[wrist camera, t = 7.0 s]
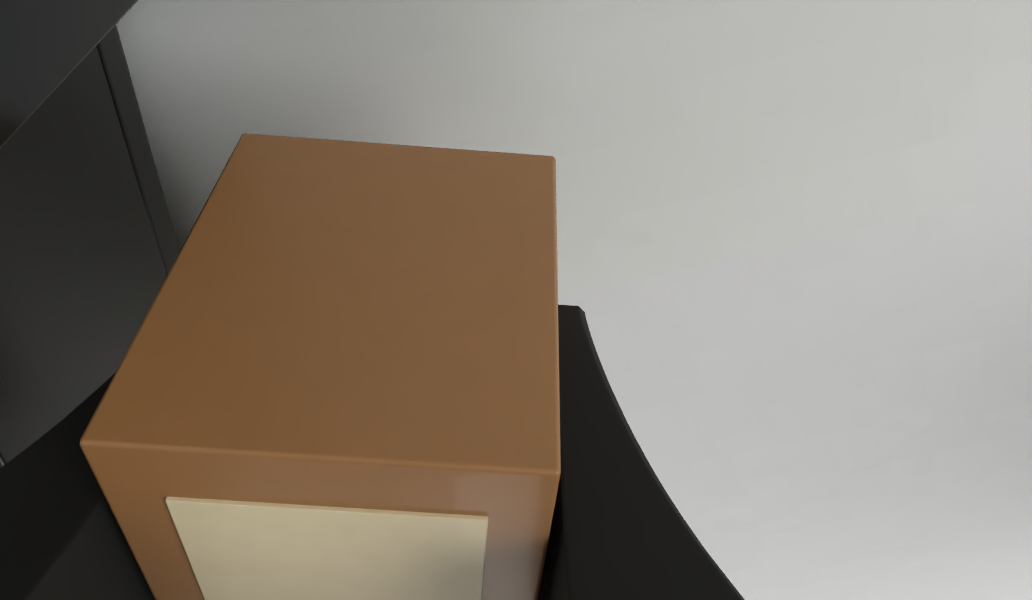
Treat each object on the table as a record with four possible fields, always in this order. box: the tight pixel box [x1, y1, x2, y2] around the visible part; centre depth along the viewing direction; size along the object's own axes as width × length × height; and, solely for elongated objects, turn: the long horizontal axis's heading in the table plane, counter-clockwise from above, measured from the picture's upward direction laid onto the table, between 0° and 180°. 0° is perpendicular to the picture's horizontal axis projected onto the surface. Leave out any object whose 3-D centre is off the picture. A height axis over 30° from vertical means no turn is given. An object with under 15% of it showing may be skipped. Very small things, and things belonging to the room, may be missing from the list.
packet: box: [80, 133, 561, 600], centre depth 11 cm, size 6×4×6 cm
